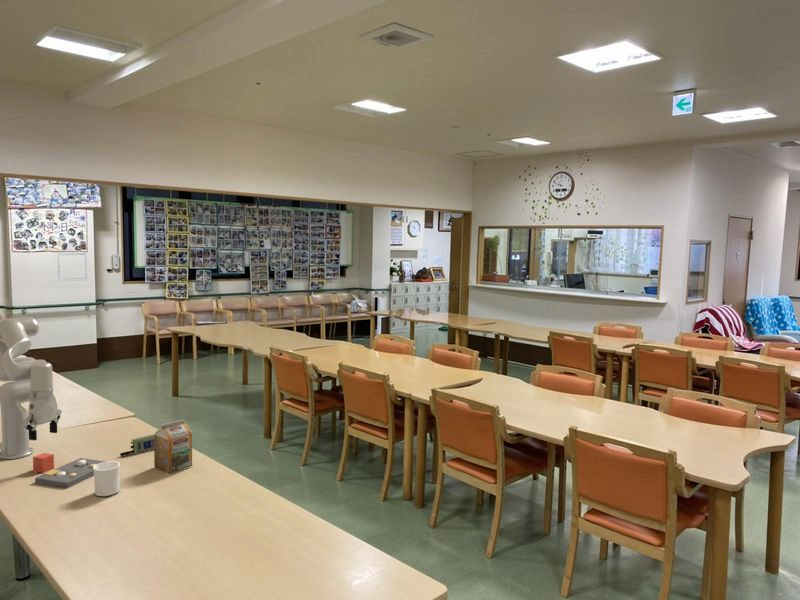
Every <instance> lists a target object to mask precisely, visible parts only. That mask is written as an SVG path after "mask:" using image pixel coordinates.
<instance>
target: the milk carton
mask: <svg viewBox="0 0 800 600" xmlns="http://www.w3.org/2000/svg"><path fill="white" fill-rule="evenodd" d="M153 453H154V457H153V459H154V463H153V465H154V466H153V467H155V468H154V469H156V468H157V470H158V471H162V472H163V473H165V472H166V474H167V473H168V474H167V475H171V474H174V473H177V472H180V471H182V469H183V470H185V469H184V468H187V467H190V466H192V467H193V433H192V431H191V429H190V427H189V426H188V424H186V420H185V419H181V420H176V421H172V422H169V423H164V424H161V425H160V428H159V429H158V430H157V431H155V433H154V450H153ZM190 468H191V467H190ZM187 469H188V468H187ZM179 470H180V471H179ZM176 471H177V472H176ZM173 472H174V473H173ZM170 473H171V474H170Z"/></svg>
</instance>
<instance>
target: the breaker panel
mask: <svg viewBox="0 0 800 600" xmlns="http://www.w3.org/2000/svg"><path fill="white" fill-rule="evenodd" d="M79 460H86V465H85V466H83V467H77V461H79ZM102 462H106V460H105V461H104V460H98V459H91V458H83V457H79V458H78V459H75V460H73V461H71V462H69V463H66V464H64V465H61V466H59V467H57V468H54V469H52V470H50V471H47V472H45V473H42V474H41V475H38V476H36V477H35V478H34V480H35V481H34V483H35V484H39V485H46V486H53V487H60V488H65V489H69V488H71V487H73V486H75V485H77V484H80V483H82V482H83V481H86V480H88V479H89V478H92V477H94V471H93V467H94V466H95V465H96V464H99V463H102ZM62 471H64V472H66V475H63V476H56V473H58V472H62Z"/></svg>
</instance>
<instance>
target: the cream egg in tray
mask: <svg viewBox="0 0 800 600" xmlns="http://www.w3.org/2000/svg"><path fill="white" fill-rule="evenodd" d="M63 475H66V472H64V471H62V472H58V473H56V476H63Z"/></svg>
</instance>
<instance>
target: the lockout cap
mask: <svg viewBox="0 0 800 600" xmlns="http://www.w3.org/2000/svg"><path fill="white" fill-rule="evenodd" d="M32 468H33V469H32V470H33V471H35V472H34V473H39V472H40V474H45V473H47V472H50V471H52V470H54V469H55V455H54V454H53V453H47V452H42V453H40V454H37V455H35V456H33V457H32ZM49 470H50V471H49Z"/></svg>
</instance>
